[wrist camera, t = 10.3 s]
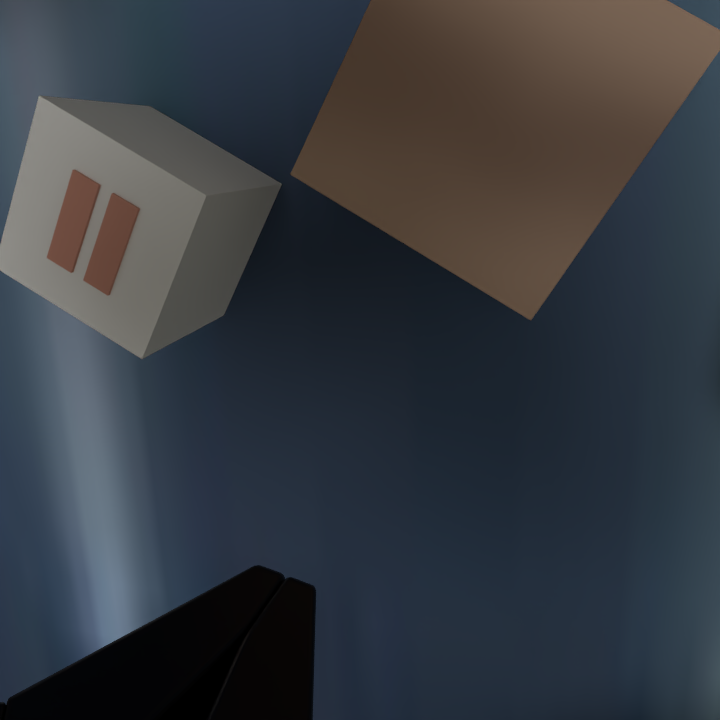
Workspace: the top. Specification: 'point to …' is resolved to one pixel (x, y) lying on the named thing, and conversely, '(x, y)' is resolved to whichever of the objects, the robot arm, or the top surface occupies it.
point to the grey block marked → (131, 220)
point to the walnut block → (501, 126)
